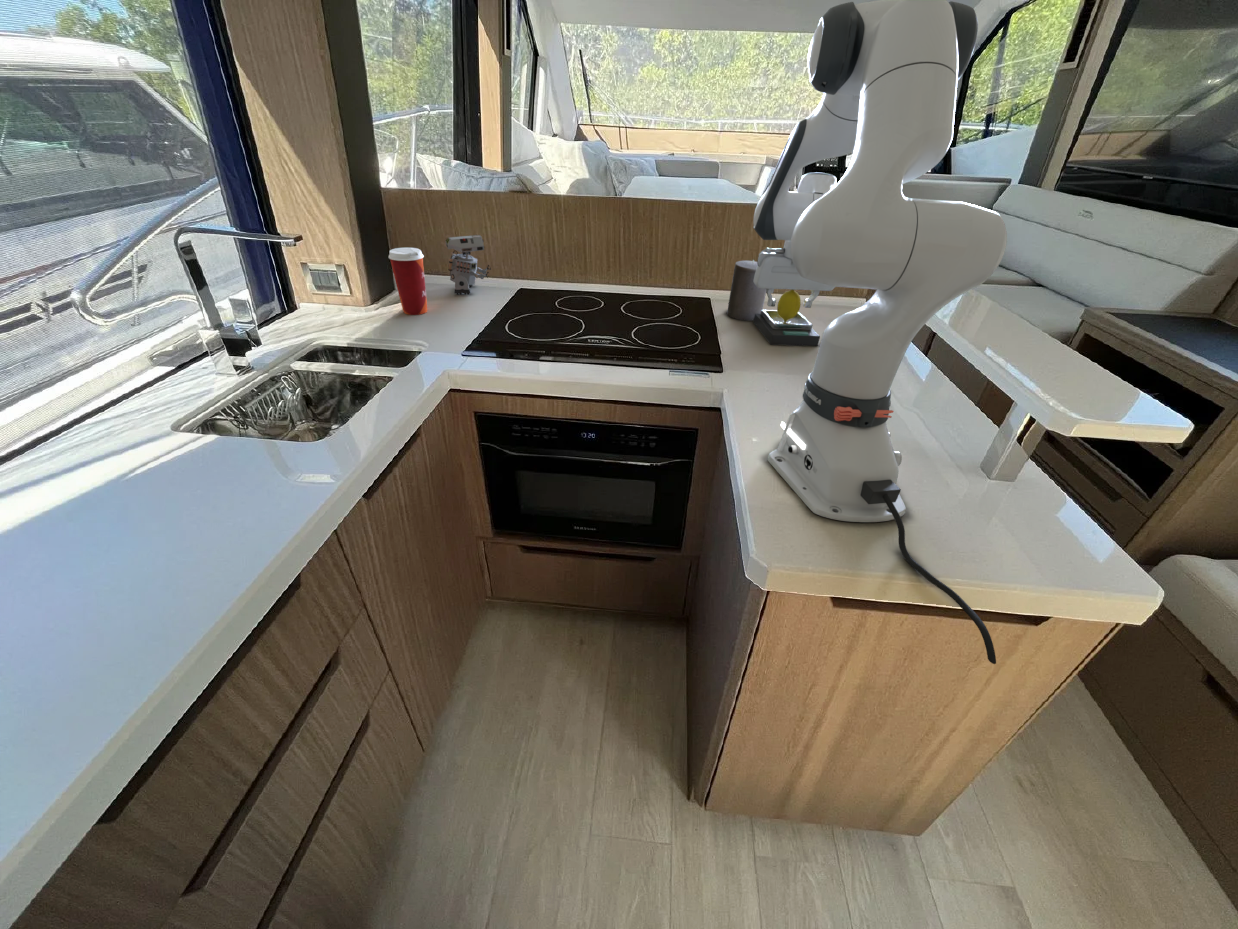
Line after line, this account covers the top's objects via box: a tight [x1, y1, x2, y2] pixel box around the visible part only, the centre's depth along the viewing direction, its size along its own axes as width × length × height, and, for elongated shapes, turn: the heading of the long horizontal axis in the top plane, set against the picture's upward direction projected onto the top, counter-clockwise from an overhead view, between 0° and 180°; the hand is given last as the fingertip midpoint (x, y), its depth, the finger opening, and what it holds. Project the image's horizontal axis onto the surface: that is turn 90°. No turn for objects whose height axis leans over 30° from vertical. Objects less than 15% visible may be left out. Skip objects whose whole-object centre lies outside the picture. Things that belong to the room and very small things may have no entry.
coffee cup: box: [388, 247, 428, 316], centre depth 132 cm, size 8×8×15 cm
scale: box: [752, 314, 821, 347], centre depth 136 cm, size 16×12×3 cm
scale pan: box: [760, 309, 814, 331], centre depth 135 cm, size 11×10×2 cm
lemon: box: [776, 289, 802, 321], centre depth 133 cm, size 6×6×8 cm
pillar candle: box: [726, 259, 767, 322], centre depth 143 cm, size 10×10×15 cm
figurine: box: [445, 234, 492, 296], centre depth 150 cm, size 9×12×15 cm
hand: (788, 306), depth 133 cm, fingers open, 8 cm apart
